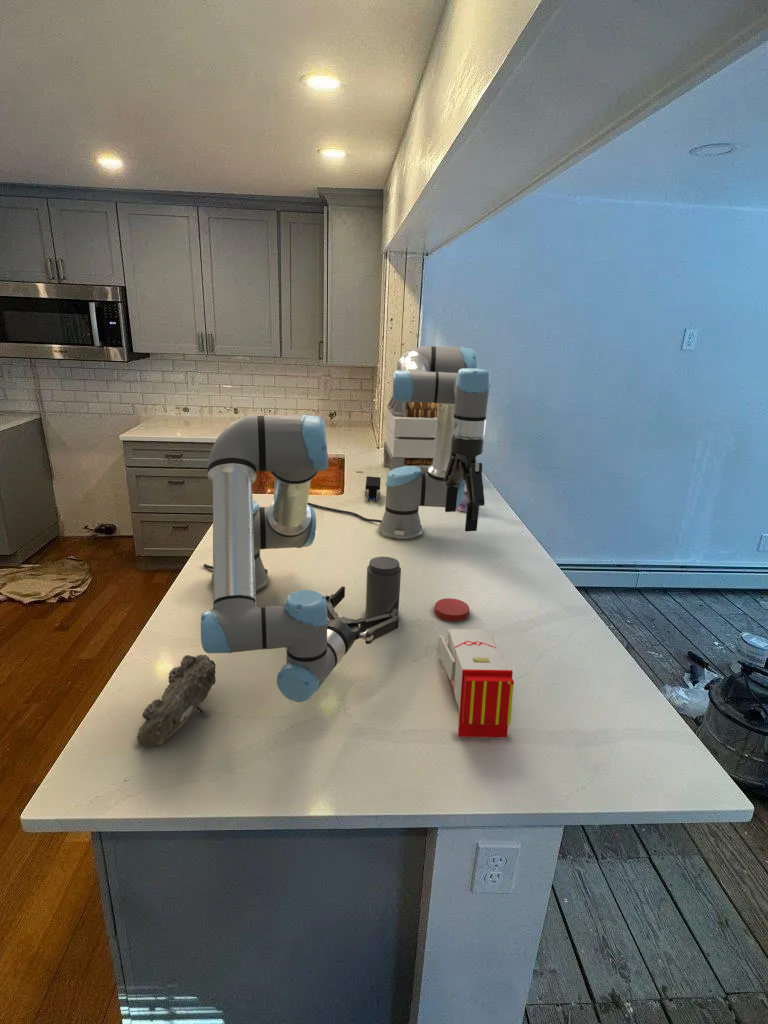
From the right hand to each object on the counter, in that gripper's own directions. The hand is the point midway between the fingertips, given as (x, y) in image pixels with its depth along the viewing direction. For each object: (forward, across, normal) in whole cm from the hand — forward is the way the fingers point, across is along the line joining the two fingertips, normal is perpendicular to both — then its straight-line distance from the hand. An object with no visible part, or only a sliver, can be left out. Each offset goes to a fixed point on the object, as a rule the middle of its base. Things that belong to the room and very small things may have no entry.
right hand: (460, 520), depth 141 cm
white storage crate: (+26, -129, +33) cm, 136 cm away
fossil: (+26, +27, -65) cm, 75 cm away
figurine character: (+26, -95, +1) cm, 99 cm away
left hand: (+16, +7, -24) cm, 29 cm away
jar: (+26, -1, -19) cm, 32 cm away
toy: (+26, +32, -8) cm, 42 cm away
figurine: (+26, -77, +36) cm, 89 cm away
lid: (+24, 0, 0) cm, 24 cm away
